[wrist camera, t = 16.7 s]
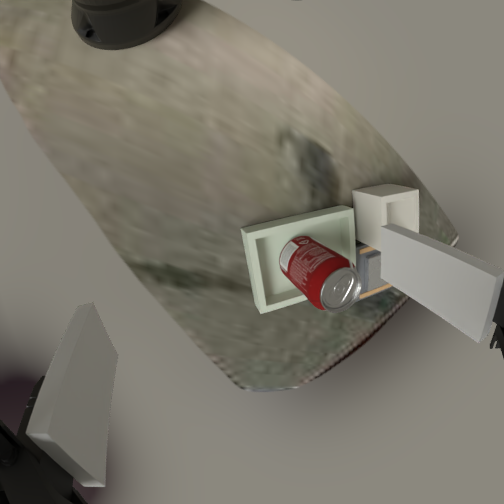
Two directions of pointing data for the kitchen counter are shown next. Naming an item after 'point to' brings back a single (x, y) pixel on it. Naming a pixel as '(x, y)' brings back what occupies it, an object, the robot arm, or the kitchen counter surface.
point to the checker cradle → (361, 253)
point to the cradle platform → (373, 272)
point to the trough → (274, 239)
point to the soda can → (320, 273)
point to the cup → (384, 211)
